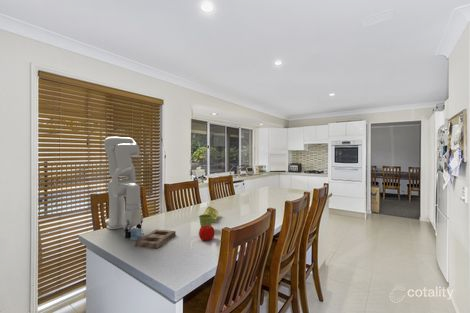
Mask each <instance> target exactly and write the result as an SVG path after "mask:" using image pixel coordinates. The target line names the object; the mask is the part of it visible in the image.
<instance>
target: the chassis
mask: <svg viewBox="0 0 470 313" xmlns="http://www.w3.org/2000/svg"><path fill="white" fill-rule="evenodd" d="M176 232H177V231H176V230H167V229H154V230H152V231H151V232H149V233H148V234H146V235H143V237H142V236H141V238H139V239H138V240H135V242H134V243H135V245H134V247H139V248H147V249H157V250H158V249H159V248H161V247H162V246H163V245H164V244H166V243H167V242H169V241H170V240H171V239H172V238H174V237H176V234H177V233H176Z"/></svg>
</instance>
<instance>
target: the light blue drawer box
mask: <svg viewBox="0 0 470 313" xmlns="http://www.w3.org/2000/svg"><path fill="white" fill-rule="evenodd" d="M128 229H129V228H128ZM130 232H131V238H130V239H129V240H130V241H131V240H133V241H137V240H139V239H141V238H142V236H145V233H144V232H142V227H141V228H136V227H132V228H131V230H130ZM122 236H125V232H124V233H122Z"/></svg>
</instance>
